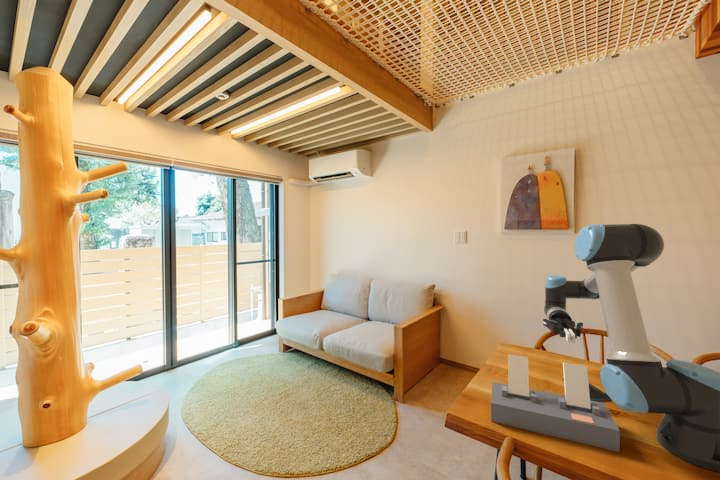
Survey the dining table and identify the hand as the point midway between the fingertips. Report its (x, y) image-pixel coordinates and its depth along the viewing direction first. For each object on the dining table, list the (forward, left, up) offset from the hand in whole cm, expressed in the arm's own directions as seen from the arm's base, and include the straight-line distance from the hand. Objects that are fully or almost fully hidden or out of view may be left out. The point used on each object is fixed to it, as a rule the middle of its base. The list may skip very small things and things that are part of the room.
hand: (571, 338), depth 99 cm
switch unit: (+2, +13, -24) cm, 27 cm away
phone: (+2, -18, -25) cm, 30 cm away
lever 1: (+9, +17, -18) cm, 26 cm away
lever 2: (-5, +9, -18) cm, 21 cm away
